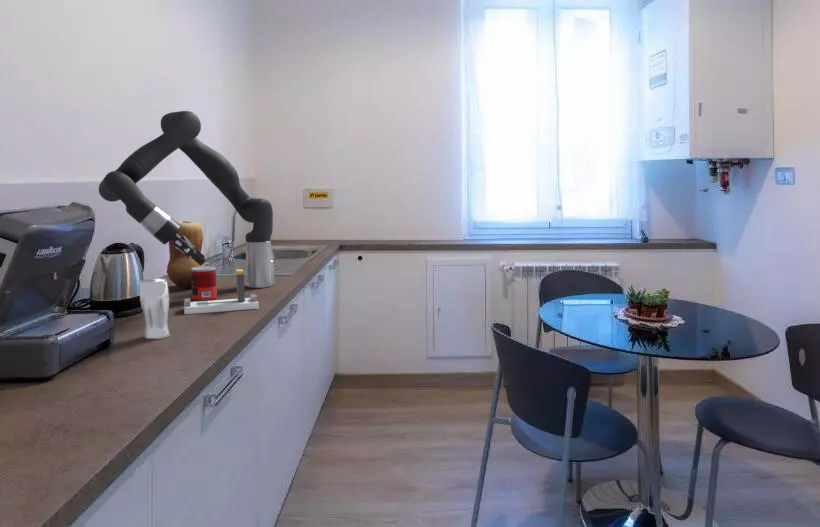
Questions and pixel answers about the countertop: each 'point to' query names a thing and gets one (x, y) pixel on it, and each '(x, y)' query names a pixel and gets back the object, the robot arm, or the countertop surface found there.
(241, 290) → the post
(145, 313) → the beer glass
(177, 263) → the butternut squash
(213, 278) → the canned food
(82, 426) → the countertop surface
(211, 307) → the white slider base
